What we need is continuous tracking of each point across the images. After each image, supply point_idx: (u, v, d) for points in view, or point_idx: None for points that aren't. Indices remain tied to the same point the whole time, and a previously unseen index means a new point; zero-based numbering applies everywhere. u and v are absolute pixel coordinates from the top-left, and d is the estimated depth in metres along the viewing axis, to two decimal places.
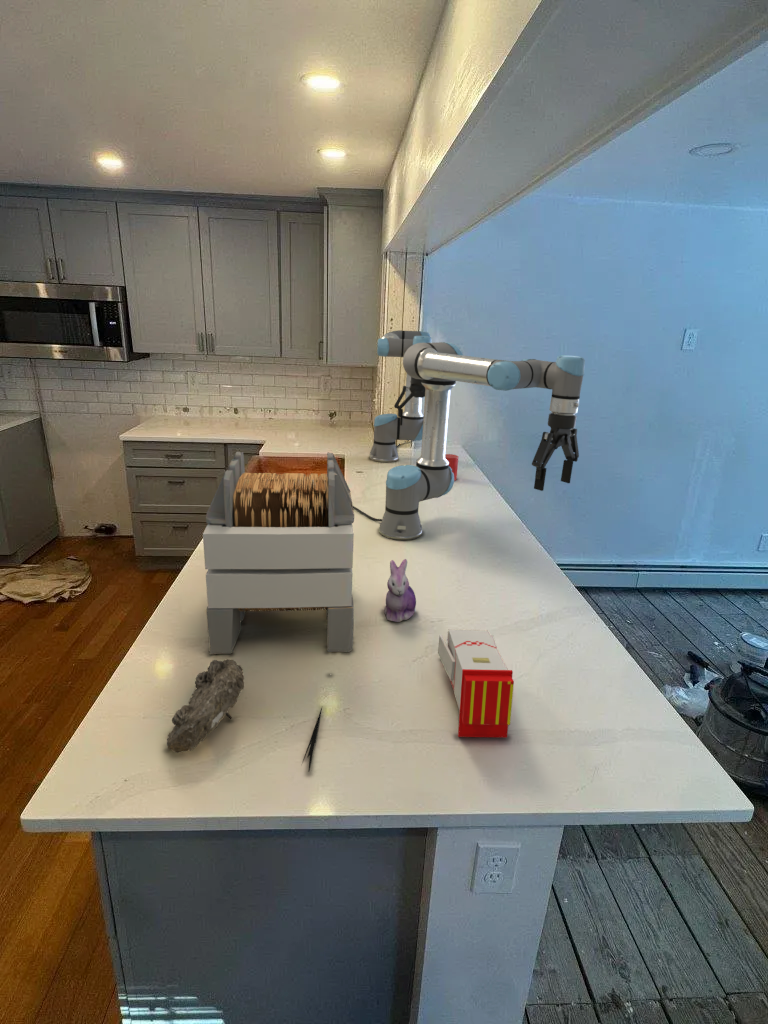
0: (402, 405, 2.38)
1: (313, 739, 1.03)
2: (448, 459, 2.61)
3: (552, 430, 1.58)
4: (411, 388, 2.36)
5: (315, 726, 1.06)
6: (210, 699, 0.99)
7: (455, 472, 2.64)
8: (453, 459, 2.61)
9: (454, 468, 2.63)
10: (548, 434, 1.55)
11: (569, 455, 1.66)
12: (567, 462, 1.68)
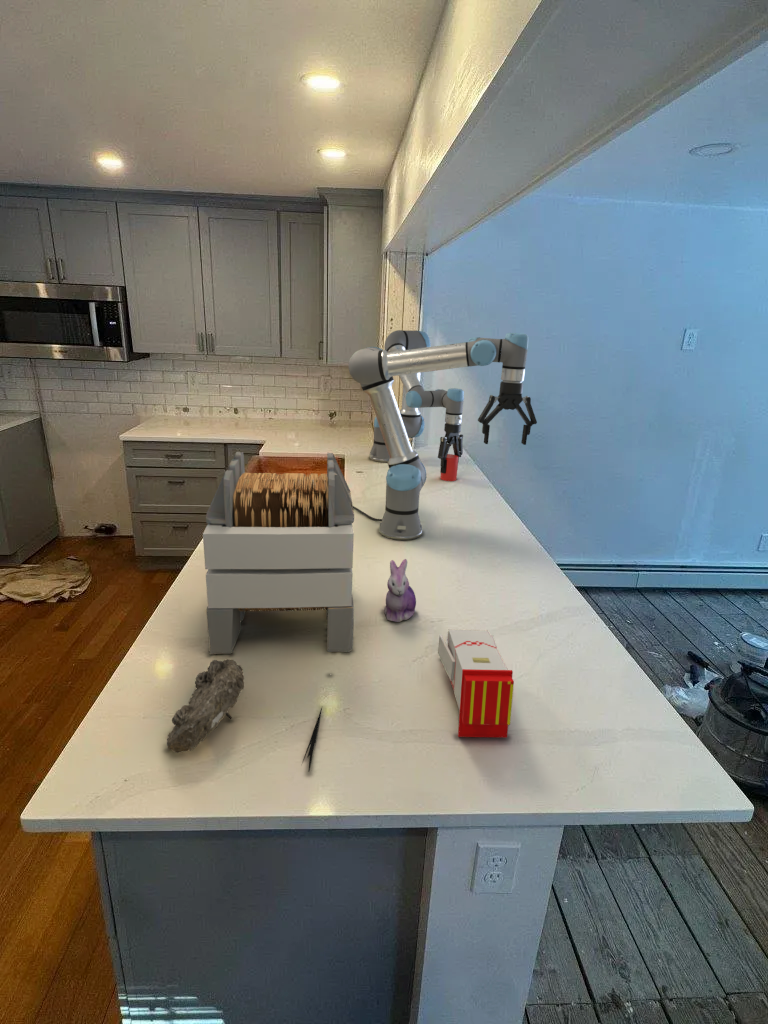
0: (446, 455, 2.60)
1: (313, 739, 1.03)
2: (448, 459, 2.61)
3: None
4: (449, 436, 2.58)
5: (315, 726, 1.06)
6: (210, 699, 0.99)
7: (455, 472, 2.64)
8: (453, 459, 2.61)
9: (454, 468, 2.63)
10: None
11: None
12: None
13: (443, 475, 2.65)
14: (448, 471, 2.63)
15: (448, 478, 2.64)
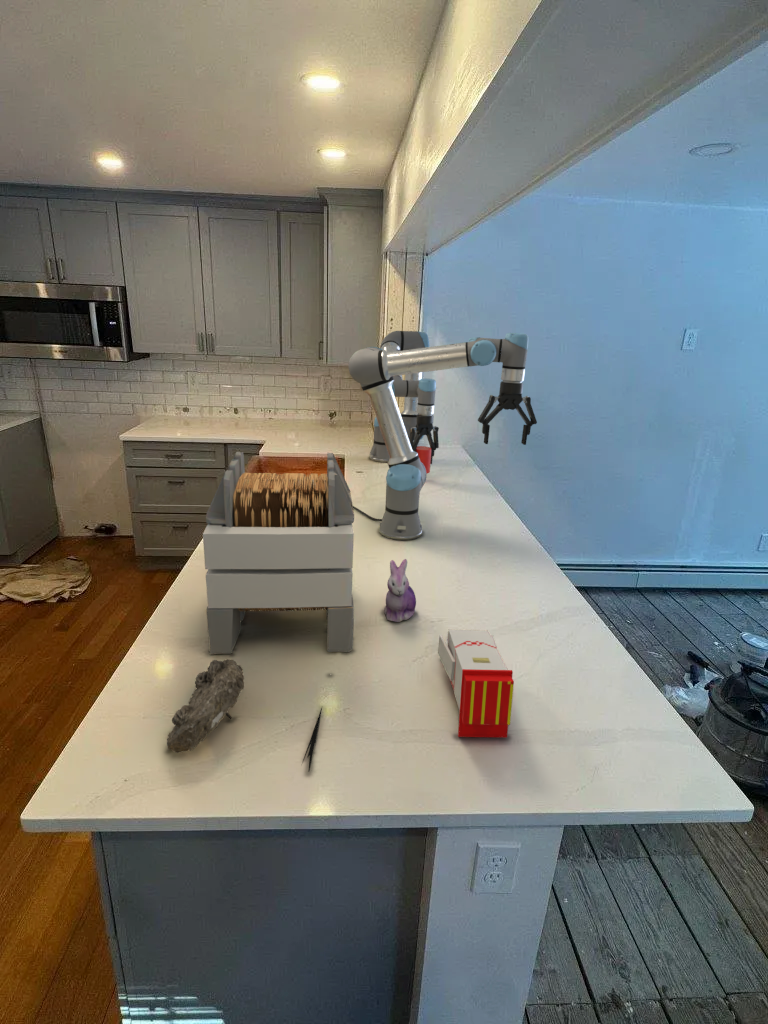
0: (415, 446, 2.55)
1: (313, 739, 1.03)
2: (418, 451, 2.55)
3: None
4: (418, 427, 2.52)
5: (315, 726, 1.06)
6: (210, 699, 0.99)
7: (426, 465, 2.57)
8: (423, 451, 2.55)
9: (424, 460, 2.56)
10: None
11: None
12: None
13: None
14: None
15: None
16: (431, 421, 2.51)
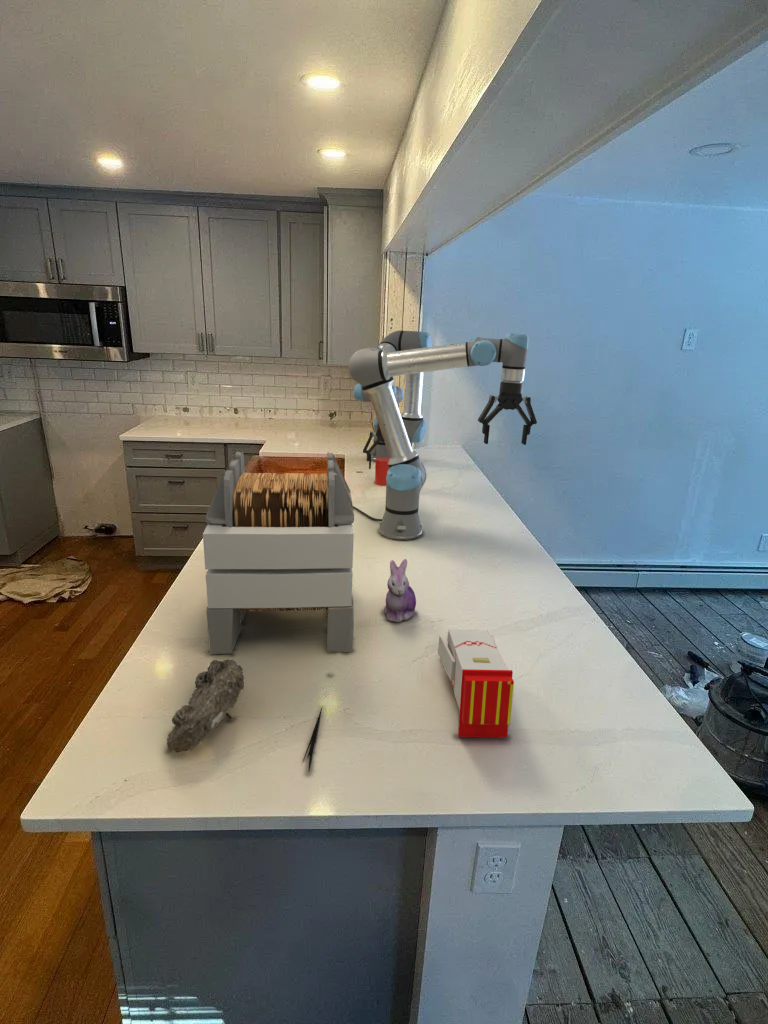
0: (370, 450, 2.51)
1: (313, 739, 1.03)
2: (376, 461, 2.52)
3: None
4: (377, 433, 2.48)
5: (315, 726, 1.06)
6: (210, 699, 0.99)
7: (383, 476, 2.52)
8: (380, 462, 2.50)
9: (382, 472, 2.51)
10: None
11: None
12: None
13: (375, 477, 2.56)
14: (376, 473, 2.53)
15: (376, 481, 2.54)
16: None
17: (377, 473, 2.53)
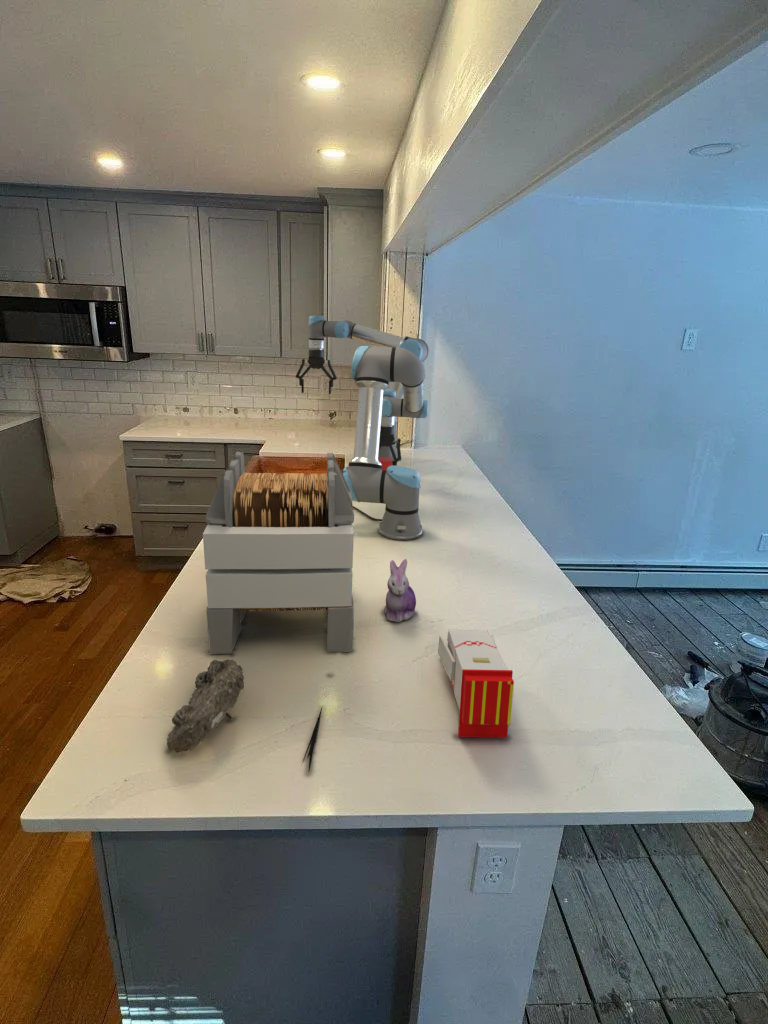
0: (302, 375, 2.80)
1: (313, 739, 1.03)
2: None
3: (393, 435, 2.50)
4: (309, 360, 2.77)
5: (315, 726, 1.06)
6: (210, 699, 0.99)
7: None
8: (380, 462, 2.50)
9: None
10: None
11: None
12: None
13: None
14: None
15: None
16: (318, 355, 2.74)
17: None
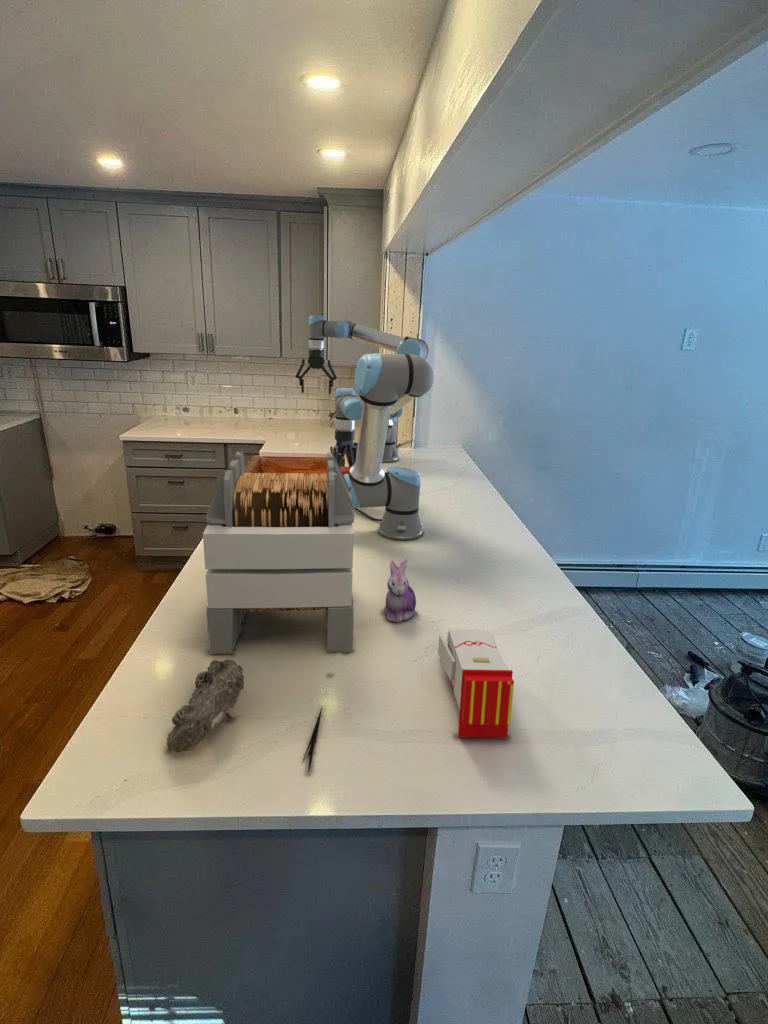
0: (302, 375, 2.80)
1: (313, 739, 1.03)
2: None
3: None
4: (309, 360, 2.77)
5: (315, 726, 1.06)
6: (210, 699, 0.99)
7: None
8: (346, 472, 2.17)
9: None
10: None
11: None
12: None
13: None
14: None
15: None
16: (318, 355, 2.74)
17: None
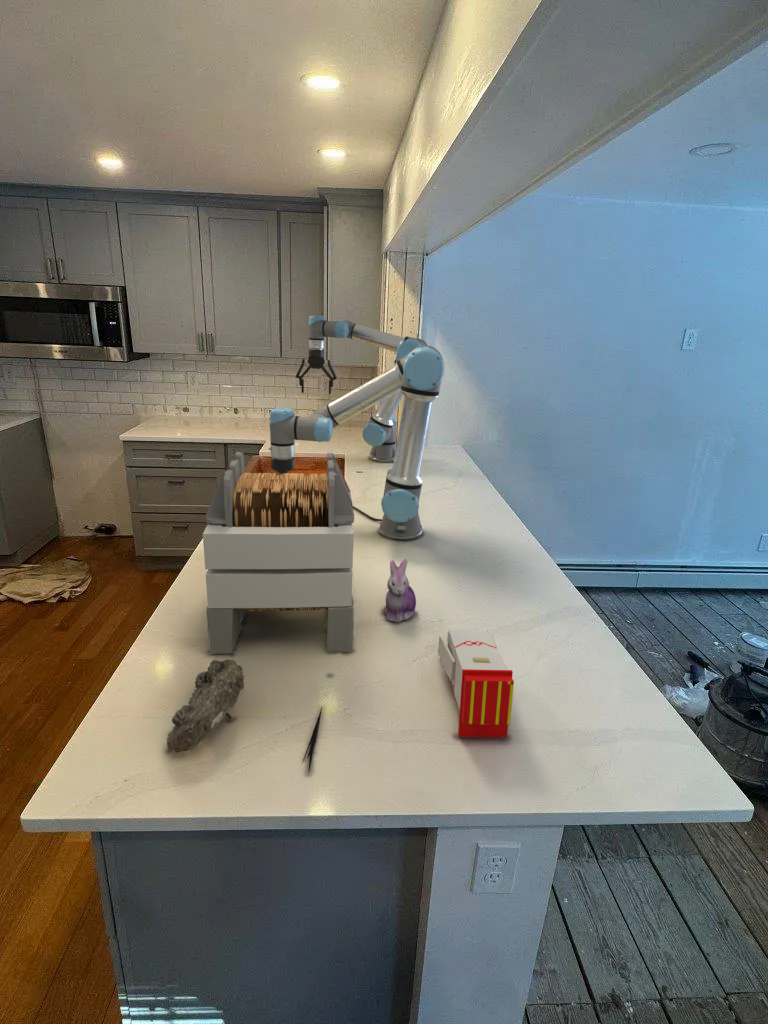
0: (302, 375, 2.80)
1: (313, 739, 1.03)
2: None
3: None
4: (309, 360, 2.77)
5: (315, 726, 1.06)
6: (210, 699, 0.99)
7: None
8: None
9: None
10: None
11: None
12: None
13: None
14: None
15: None
16: (318, 355, 2.74)
17: None
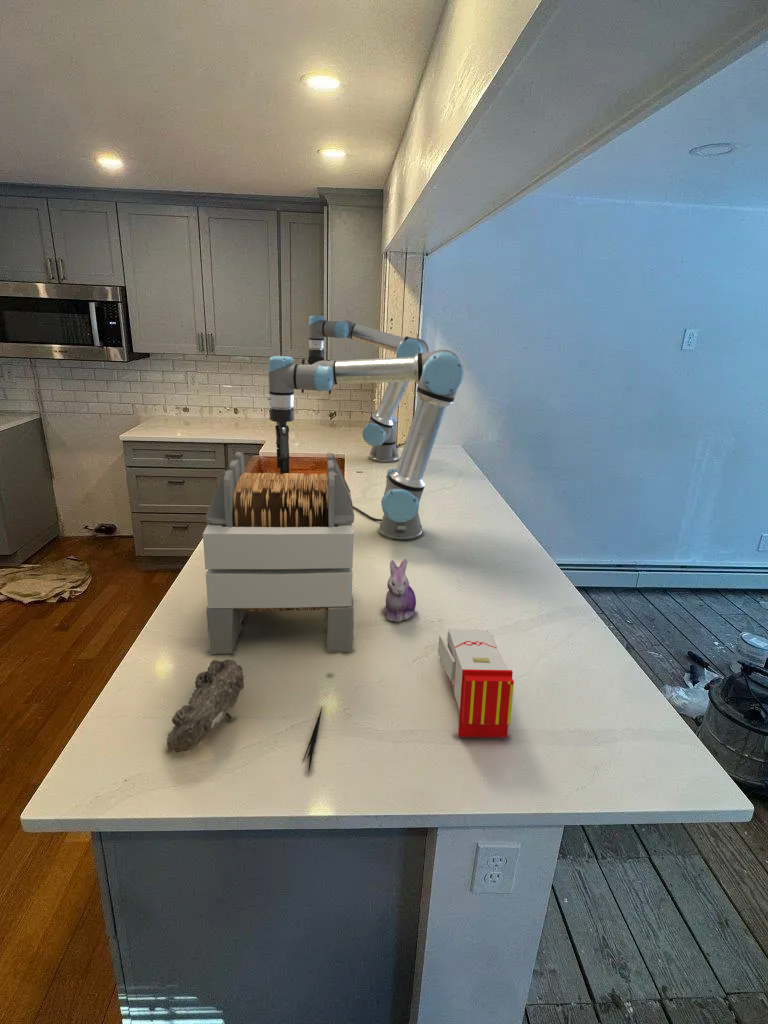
0: None
1: (313, 739, 1.03)
2: None
3: None
4: (309, 360, 2.77)
5: (315, 726, 1.06)
6: (210, 699, 0.99)
7: None
8: None
9: None
10: None
11: None
12: None
13: None
14: None
15: None
16: (318, 355, 2.74)
17: None
